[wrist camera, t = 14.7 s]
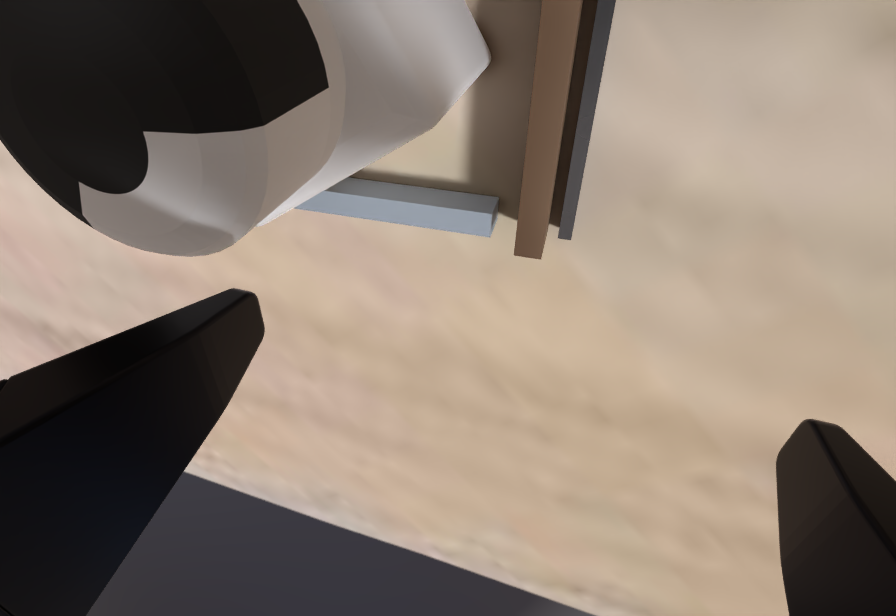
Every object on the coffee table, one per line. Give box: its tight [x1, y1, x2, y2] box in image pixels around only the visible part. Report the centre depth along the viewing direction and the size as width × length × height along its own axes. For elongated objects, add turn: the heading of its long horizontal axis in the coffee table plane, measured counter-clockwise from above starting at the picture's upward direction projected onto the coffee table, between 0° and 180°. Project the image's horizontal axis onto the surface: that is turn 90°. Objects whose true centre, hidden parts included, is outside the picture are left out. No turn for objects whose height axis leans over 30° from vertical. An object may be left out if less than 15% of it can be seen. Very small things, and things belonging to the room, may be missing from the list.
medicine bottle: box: [0, 0, 491, 257], centre depth 13 cm, size 7×7×12 cm
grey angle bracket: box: [295, 177, 499, 237], centre depth 17 cm, size 12×14×2 cm
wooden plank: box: [514, 0, 583, 259], centre depth 15 cm, size 1×14×2 cm, turn 179°
